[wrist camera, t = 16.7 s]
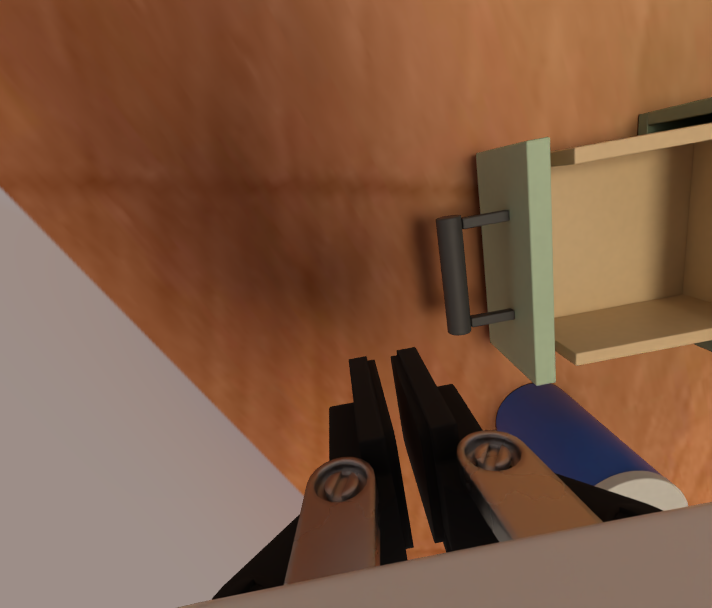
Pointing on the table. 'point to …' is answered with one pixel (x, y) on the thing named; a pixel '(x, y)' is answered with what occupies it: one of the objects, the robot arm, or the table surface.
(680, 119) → the cabinet
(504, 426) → the tube
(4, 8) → the table surface
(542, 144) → the drawer
